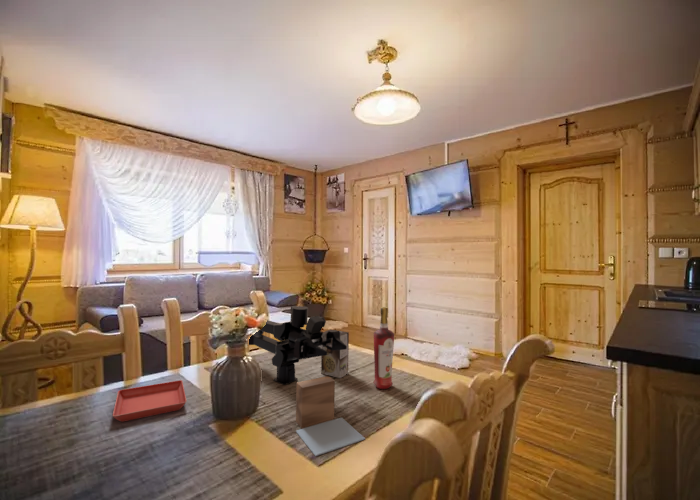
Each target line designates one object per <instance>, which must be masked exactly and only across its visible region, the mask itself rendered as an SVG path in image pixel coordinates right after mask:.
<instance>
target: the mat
mask: <svg viewBox="0 0 700 500" xmlns="http://www.w3.org/2000/svg"><path fill="white" fill-rule="evenodd" d="M295 432H296V434H297V435H298V436H299V438H300V439H301V440H302V442H304V444H305V445H306V446H307V448H308V449H309V450H310V452H311V453H312V454H313V455H314V456H315V457H318V456H320V455H323V454H327V453H329V452H332V451H336V450H339V449H341V448H345V447H347V446H350V445H353V444H355V443H356V444H357V443H358V442H361V441H365V440H366V437H364V435H362V434H361V433H360V432H359V431H358V430H357V429H355V428H354V427H353V426H352V425H351V424H350V423H349V422H347V420H345V419H344V418H343V417H337V418H334V419H333V420H329V421H326V422H322V423H319V424H315V425H312V426H308V427H305V428H300V429H296V430H295Z"/></svg>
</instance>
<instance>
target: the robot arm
mask: <svg viewBox="0 0 700 500" xmlns="http://www.w3.org/2000/svg"><path fill="white" fill-rule="evenodd" d="M308 316H309V307H308V306H304V305H303V306H301V305H292V306H290V321H286V322H275V321H272V320H269V319H266V320H267V322H266V325H265V326H264V327H263V328H262V329H261V330H259V331H258V332H256V333H255V334H254V335H252V336H251V337H250V339H249V345H248V346H256V347H258V348H261V349H262V350H265V351H267V352H269V353H271V354H273V357H272V358H271V362H272V363H271V364H272V366H275V367H276V377H275V378H273V379H272V380H273V381H274V382H276V383H279V384H281V385H283V386H284V385H288V384H291V383H293V382H295V381H298V379H299V378H297V376H296V367H295V366H296V365H295V364H296V363H299V362H300V360H305V359H311V358H316V357H317V358H318V357H321V356H325V355H327V351H325V350H324V349H322V347H327V349H329V350H331V351H334V350H344V349H347V346H346V345H345V344H344V343H343V342H342V341H341V340H340V332H339V331H340V330H337V329H331V330H332V331H329V332H327V335H326V339H322V335H323V332H324V331H322V329H323V328H324V327H325V325H326V322H327V320H326V319H325V317H324V316H319V315H316V316H315V315H314V316H311V317H308ZM304 327H305V328H304ZM264 333H267V334H269V335H270V334H271V335H273V338H272V337H270V336H266V335H264Z"/></svg>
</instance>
